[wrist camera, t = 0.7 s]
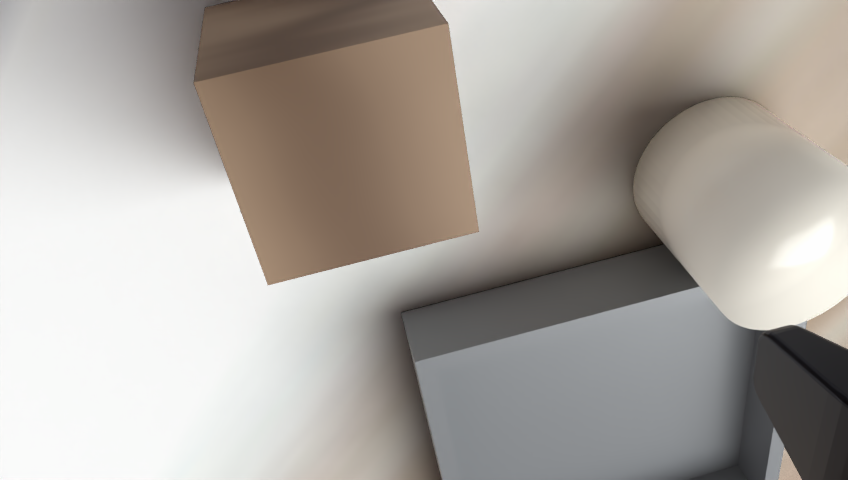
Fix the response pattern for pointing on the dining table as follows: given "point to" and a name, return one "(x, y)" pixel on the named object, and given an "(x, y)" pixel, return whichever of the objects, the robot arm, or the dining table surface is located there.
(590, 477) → the gray tray
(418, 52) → the walnut block
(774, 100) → the dining table surface
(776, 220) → the ivory round canister
